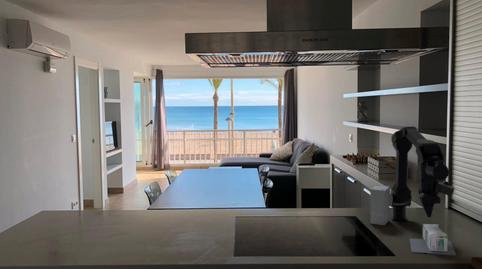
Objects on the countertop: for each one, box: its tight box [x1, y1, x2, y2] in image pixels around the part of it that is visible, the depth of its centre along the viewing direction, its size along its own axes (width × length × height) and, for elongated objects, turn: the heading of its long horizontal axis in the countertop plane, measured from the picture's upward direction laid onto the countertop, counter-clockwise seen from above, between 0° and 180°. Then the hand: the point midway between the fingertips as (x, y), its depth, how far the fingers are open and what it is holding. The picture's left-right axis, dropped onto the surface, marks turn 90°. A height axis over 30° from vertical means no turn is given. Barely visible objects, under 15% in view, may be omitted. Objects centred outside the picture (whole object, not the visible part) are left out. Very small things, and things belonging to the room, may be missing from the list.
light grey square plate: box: [409, 238, 457, 257], centre depth 150 cm, size 15×14×1 cm
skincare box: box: [369, 185, 391, 226], centre depth 184 cm, size 8×7×16 cm
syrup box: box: [422, 223, 448, 251], centre depth 151 cm, size 6×6×14 cm
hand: (429, 217), depth 157 cm, fingers closed
